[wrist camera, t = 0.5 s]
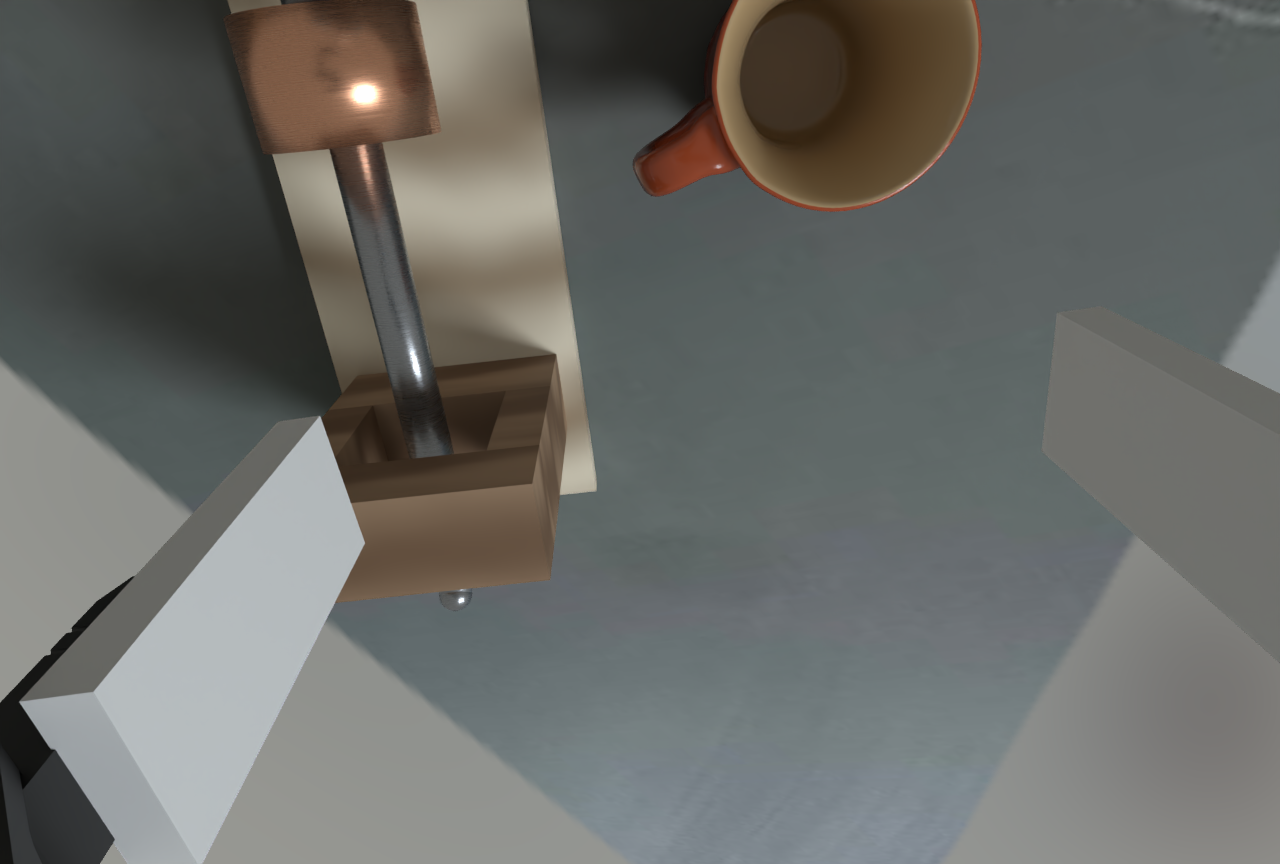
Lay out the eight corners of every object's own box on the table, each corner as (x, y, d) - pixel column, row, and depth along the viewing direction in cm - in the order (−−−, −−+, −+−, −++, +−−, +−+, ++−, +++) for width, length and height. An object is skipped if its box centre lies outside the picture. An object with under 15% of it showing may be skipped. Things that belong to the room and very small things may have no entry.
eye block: (357, 375, 38) (240, 515, 26) (556, 354, 38) (532, 483, 26) (377, 447, 40) (276, 608, 28) (567, 426, 39) (549, 579, 27)
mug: (837, -83, 31) (933, -151, 22) (906, 118, 35) (1015, 133, 26) (585, 66, 33) (576, 62, 24) (674, 243, 37) (696, 299, 28)
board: (228, -39, 31) (215, -43, 30) (517, -72, 31) (514, -77, 30) (383, 503, 42) (377, 514, 41) (596, 480, 42) (596, 490, 41)
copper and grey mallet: (263, 5, 27) (178, -12, 22) (429, -14, 27) (384, -36, 22) (414, 557, 37) (381, 638, 32) (535, 544, 37) (523, 623, 32)
